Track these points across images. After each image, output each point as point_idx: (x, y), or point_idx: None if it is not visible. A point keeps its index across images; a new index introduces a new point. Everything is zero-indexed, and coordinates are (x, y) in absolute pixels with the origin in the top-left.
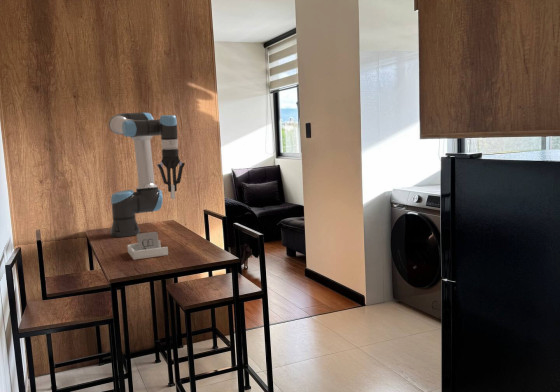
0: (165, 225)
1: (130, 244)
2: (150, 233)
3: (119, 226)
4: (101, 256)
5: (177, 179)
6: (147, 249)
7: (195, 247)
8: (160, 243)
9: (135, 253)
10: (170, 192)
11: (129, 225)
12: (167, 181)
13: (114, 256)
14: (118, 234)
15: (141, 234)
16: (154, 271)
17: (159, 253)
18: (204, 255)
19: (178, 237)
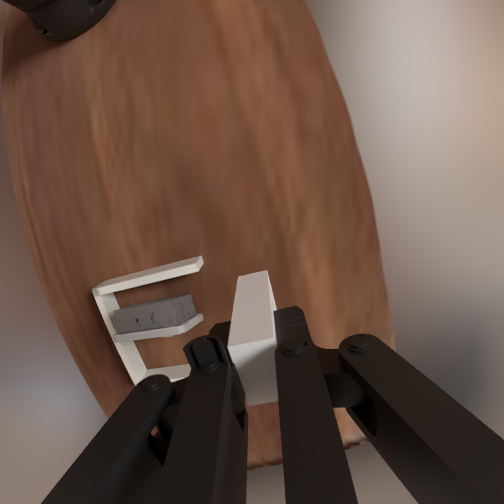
0: None
1: (100, 290)
2: (159, 336)
3: (42, 24)
4: (50, 303)
5: (360, 381)
6: (172, 380)
7: (328, 291)
8: (199, 268)
9: None
10: (235, 299)
11: (71, 9)
12: (187, 392)
13: (81, 318)
14: (52, 38)
15: (129, 340)
16: None
17: None
18: None
19: (265, 84)
